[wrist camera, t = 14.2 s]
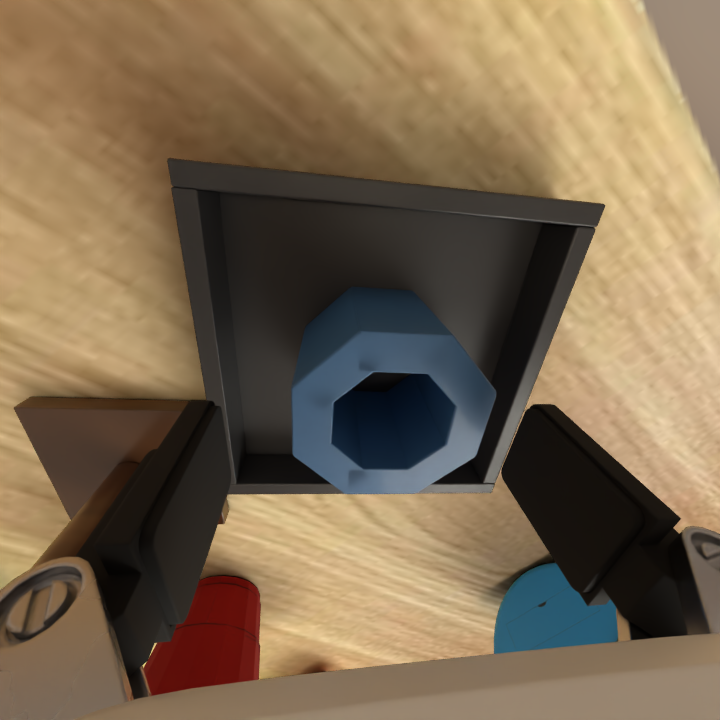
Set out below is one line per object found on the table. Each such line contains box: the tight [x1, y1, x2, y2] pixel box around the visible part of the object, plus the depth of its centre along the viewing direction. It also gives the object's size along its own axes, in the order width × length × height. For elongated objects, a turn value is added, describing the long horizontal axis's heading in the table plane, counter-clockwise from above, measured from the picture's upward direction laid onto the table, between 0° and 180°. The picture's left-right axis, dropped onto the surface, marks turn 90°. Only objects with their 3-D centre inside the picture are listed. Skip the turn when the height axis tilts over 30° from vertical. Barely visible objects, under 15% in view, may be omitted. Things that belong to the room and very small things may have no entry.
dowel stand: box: [14, 397, 229, 568], centre depth 15 cm, size 9×9×8 cm
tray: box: [167, 158, 605, 494], centre depth 15 cm, size 15×15×3 cm
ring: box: [291, 287, 496, 494], centre depth 13 cm, size 7×7×6 cm
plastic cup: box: [143, 576, 261, 696], centre depth 20 cm, size 11×11×12 cm
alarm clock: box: [494, 563, 618, 654], centre depth 21 cm, size 13×6×15 cm, turn 136°
